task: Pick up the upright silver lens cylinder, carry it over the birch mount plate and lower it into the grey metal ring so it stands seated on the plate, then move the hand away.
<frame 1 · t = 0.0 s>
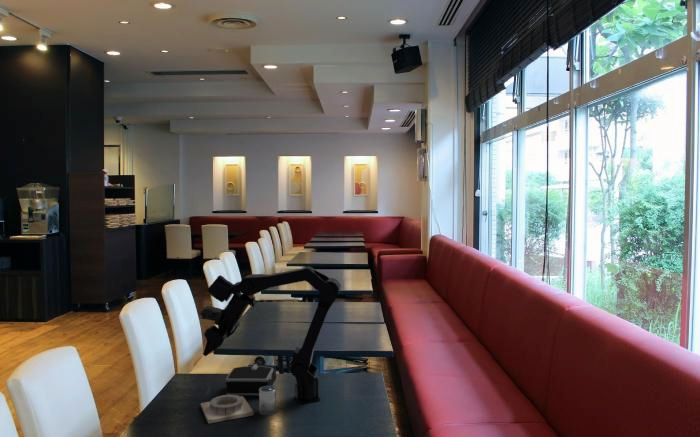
hand: (209, 350, 170), 15 cm above the table, tool tilted 35°, fingers open, 9 cm apart
mount: (226, 410, 160), on the table
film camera: (252, 387, 179), on the table
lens: (267, 411, 159), on the table
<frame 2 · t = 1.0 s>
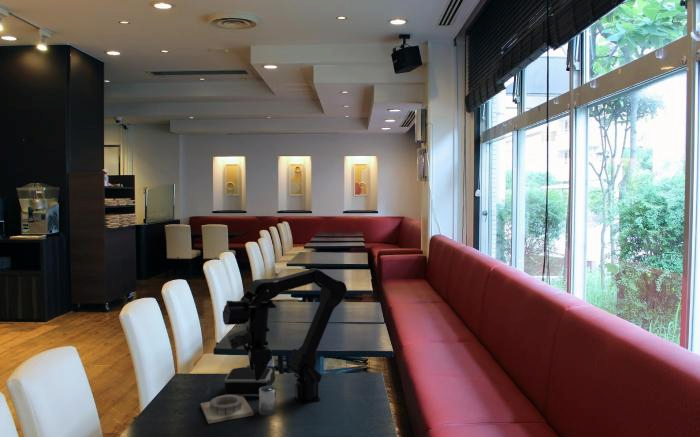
hand: (254, 375, 158), 11 cm above the table, tool pointing down, fingers open, 9 cm apart
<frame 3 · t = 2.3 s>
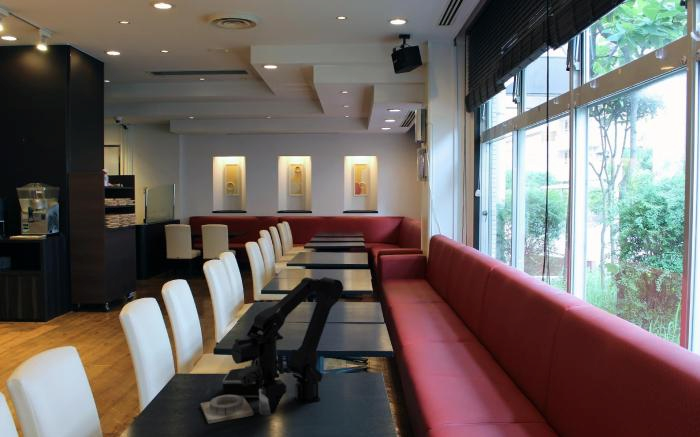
hand: (267, 407, 159), 1 cm above the table, tool pointing down, fingers open, 9 cm apart
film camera: (249, 389, 177), on the table
everything else where it was.
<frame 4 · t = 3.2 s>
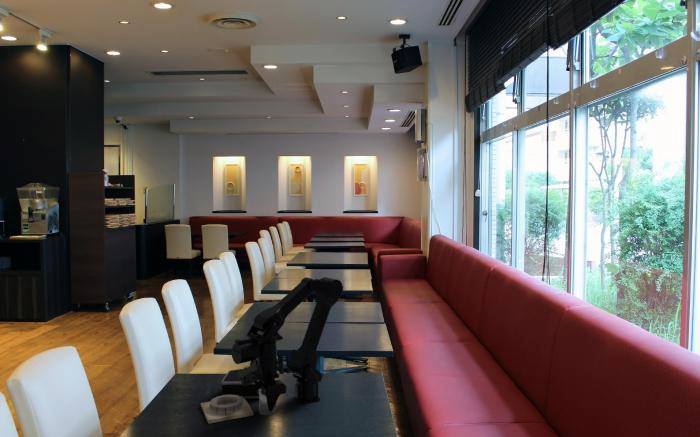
hand: (267, 407, 159), 1 cm above the table, tool pointing down, fingers closed on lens, 5 cm apart
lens: (267, 411, 159), on the table, touching gripper
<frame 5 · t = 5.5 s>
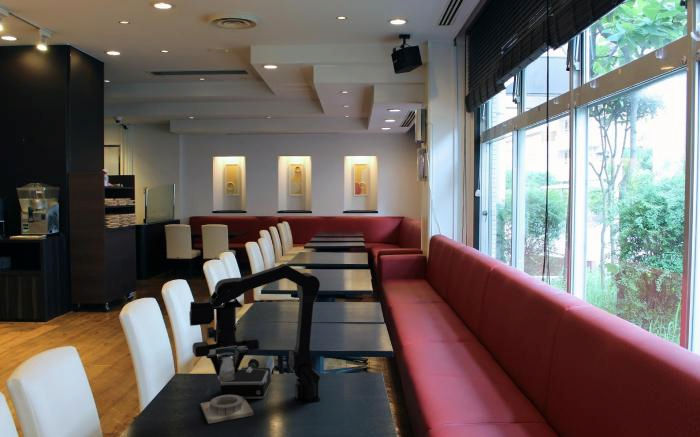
hand: (226, 374, 159), 11 cm above the table, tool pointing down, fingers closed on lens, 5 cm apart
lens: (226, 378, 159), point 10 cm above the table, touching gripper
when the fingers open (3 cm above the table, at t = 7.7 s): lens drops 1 cm, resting on mount.
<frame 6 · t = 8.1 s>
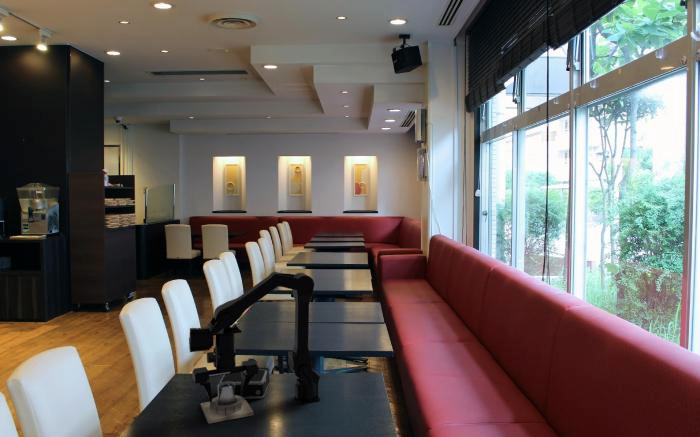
hand: (226, 399, 160), 3 cm above the table, tool pointing down, fingers open, 9 cm apart
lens: (226, 407, 160), point 1 cm above the table, touching mount
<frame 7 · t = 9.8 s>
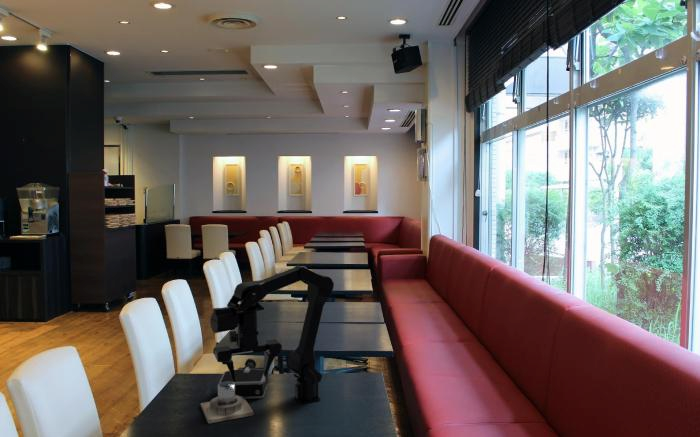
hand: (249, 378, 157), 11 cm above the table, tool pointing down, fingers open, 9 cm apart
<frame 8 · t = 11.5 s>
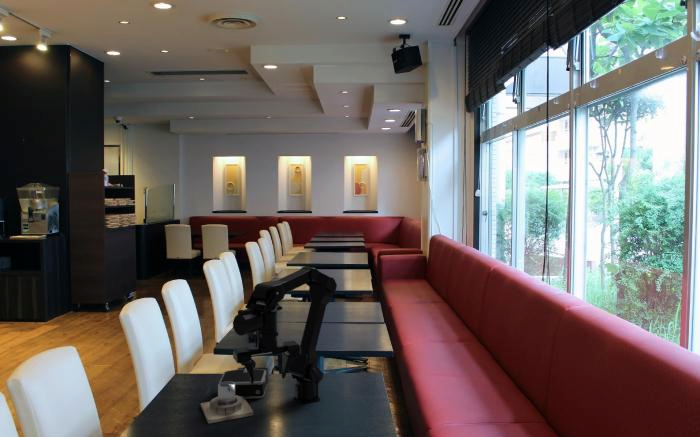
hand: (267, 380, 154), 11 cm above the table, tool pointing down, fingers open, 9 cm apart
at the end: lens 0.1 cm off-centre on the mount, point 1.0 cm above the mount's base; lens tilted 1°; the gripper is holding nothing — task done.
